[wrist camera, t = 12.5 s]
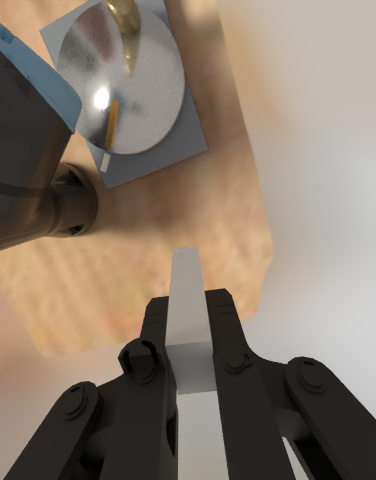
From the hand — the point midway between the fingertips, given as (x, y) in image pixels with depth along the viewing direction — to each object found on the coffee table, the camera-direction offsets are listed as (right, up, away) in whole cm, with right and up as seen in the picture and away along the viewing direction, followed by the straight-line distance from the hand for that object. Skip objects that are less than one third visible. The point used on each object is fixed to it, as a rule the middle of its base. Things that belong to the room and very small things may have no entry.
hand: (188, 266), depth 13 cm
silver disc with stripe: (-10, +26, +21) cm, 35 cm away
